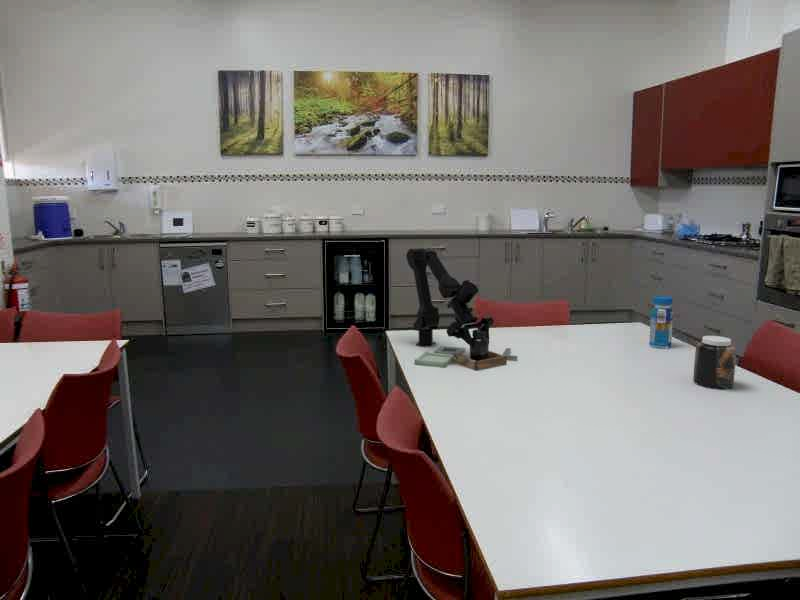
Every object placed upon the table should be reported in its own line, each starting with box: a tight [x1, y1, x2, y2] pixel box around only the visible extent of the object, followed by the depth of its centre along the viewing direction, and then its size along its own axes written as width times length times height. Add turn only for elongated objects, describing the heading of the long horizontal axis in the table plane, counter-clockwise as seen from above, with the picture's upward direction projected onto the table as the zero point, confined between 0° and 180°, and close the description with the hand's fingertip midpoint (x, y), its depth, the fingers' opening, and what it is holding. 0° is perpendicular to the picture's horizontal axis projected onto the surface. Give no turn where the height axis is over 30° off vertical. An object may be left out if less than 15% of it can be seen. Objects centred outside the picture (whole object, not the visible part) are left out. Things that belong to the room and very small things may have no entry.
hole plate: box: [432, 345, 467, 356], centre depth 248 cm, size 10×10×1 cm
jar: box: [692, 335, 737, 389], centre depth 207 cm, size 12×12×15 cm
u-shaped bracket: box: [454, 350, 508, 371], centre depth 233 cm, size 12×14×3 cm
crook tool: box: [501, 347, 518, 362], centre depth 243 cm, size 12×6×2 cm, turn 162°
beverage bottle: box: [648, 295, 674, 349], centre depth 255 cm, size 8×8×20 cm
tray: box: [414, 351, 455, 368], centre depth 236 cm, size 12×12×2 cm
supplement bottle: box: [469, 329, 490, 361], centre depth 233 cm, size 7×7×12 cm
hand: (480, 345), depth 232 cm, fingers closed on supplement bottle, 7 cm apart
